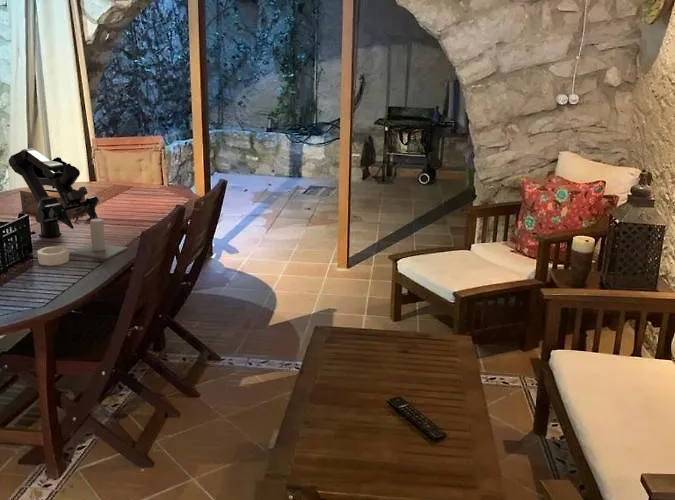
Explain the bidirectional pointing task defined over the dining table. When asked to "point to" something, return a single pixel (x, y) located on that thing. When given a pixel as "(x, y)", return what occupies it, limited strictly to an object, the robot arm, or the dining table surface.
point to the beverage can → (97, 234)
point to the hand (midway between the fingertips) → (84, 225)
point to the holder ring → (53, 255)
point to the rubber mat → (105, 254)
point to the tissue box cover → (32, 205)
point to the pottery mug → (82, 210)
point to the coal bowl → (40, 175)
